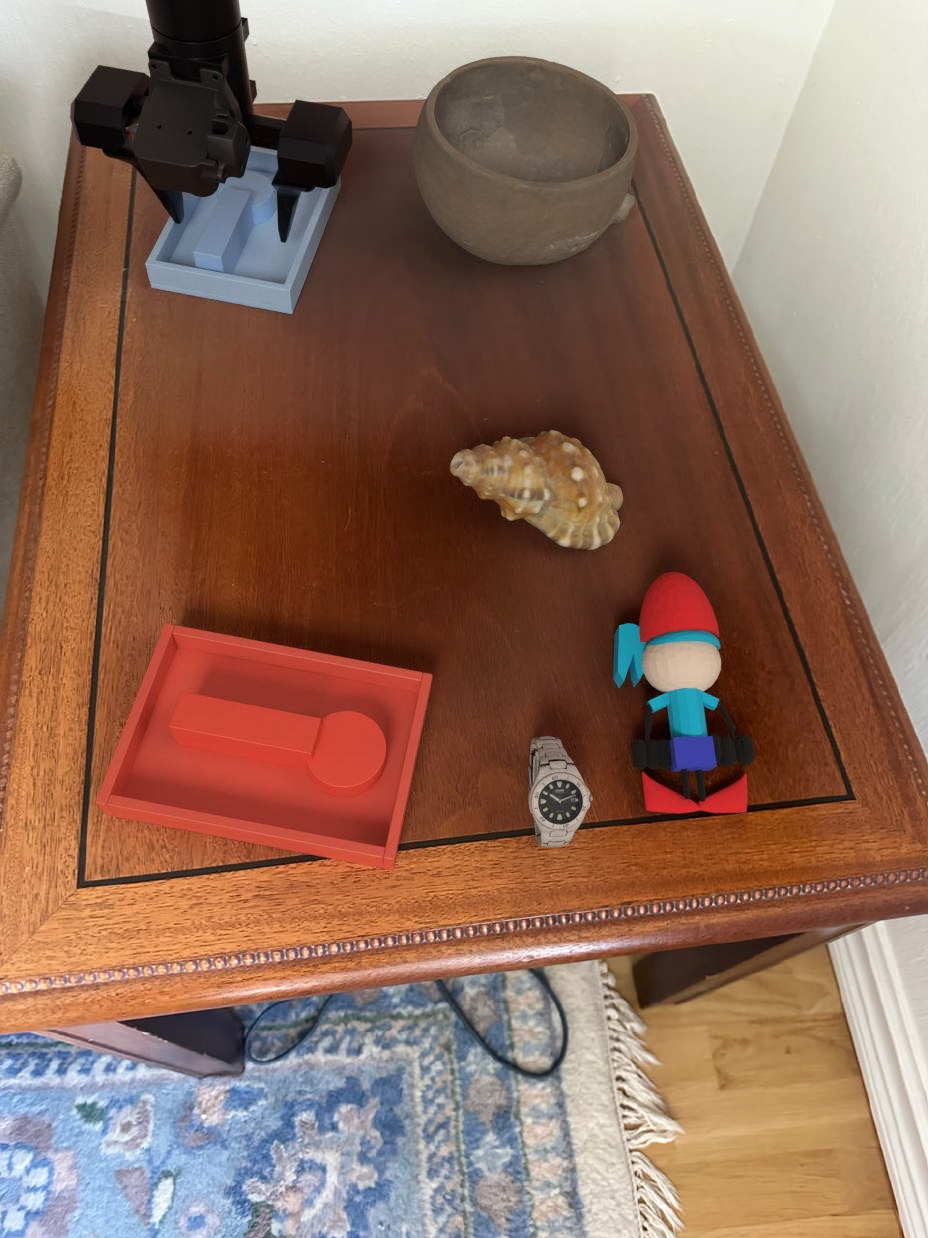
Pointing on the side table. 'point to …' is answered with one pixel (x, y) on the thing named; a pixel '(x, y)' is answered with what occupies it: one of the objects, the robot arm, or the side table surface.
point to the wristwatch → (555, 793)
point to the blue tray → (245, 249)
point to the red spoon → (287, 740)
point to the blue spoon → (234, 221)
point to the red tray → (256, 790)
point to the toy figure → (681, 695)
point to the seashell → (545, 487)
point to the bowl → (524, 159)
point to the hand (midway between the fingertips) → (232, 229)
